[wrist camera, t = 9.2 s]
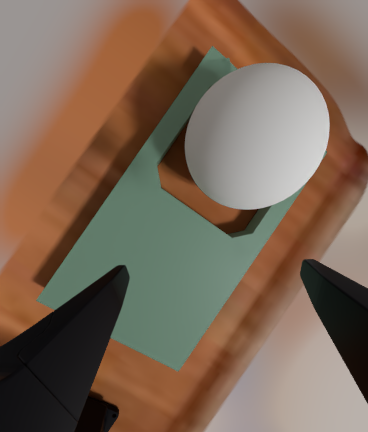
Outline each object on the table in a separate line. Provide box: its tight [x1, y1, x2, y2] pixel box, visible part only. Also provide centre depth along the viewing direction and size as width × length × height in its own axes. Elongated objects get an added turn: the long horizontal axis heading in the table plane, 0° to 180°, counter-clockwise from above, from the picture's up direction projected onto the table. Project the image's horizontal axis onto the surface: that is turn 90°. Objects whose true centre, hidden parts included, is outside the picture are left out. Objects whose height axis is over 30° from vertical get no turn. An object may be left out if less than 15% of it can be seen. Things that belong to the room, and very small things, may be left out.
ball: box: [185, 63, 330, 210], centre depth 15 cm, size 11×11×11 cm
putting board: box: [36, 46, 327, 371], centre depth 20 cm, size 31×17×2 cm, turn 144°
